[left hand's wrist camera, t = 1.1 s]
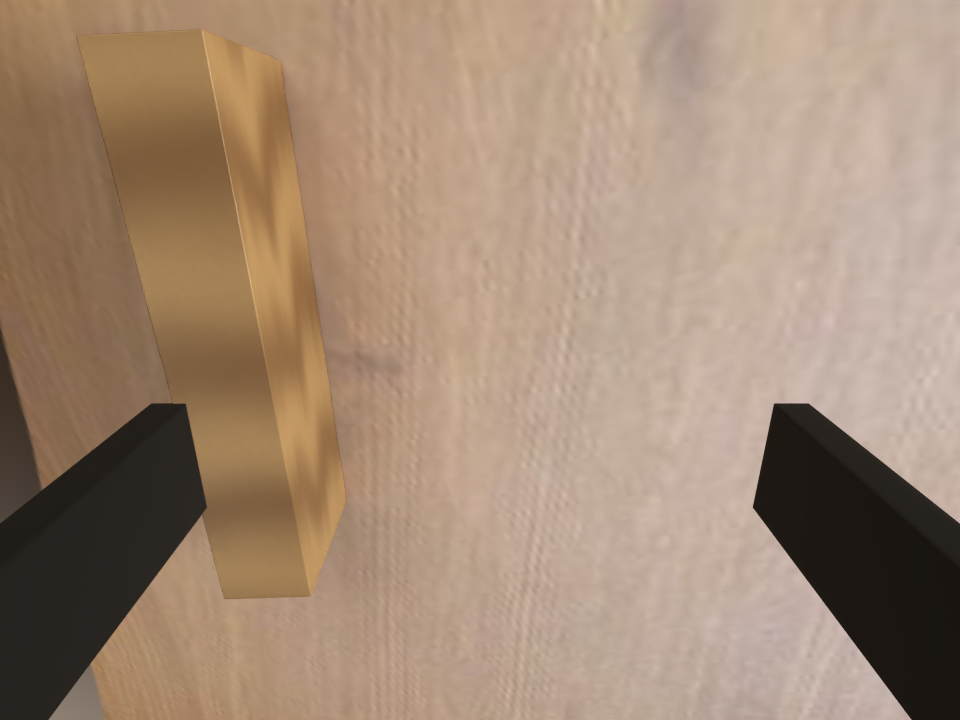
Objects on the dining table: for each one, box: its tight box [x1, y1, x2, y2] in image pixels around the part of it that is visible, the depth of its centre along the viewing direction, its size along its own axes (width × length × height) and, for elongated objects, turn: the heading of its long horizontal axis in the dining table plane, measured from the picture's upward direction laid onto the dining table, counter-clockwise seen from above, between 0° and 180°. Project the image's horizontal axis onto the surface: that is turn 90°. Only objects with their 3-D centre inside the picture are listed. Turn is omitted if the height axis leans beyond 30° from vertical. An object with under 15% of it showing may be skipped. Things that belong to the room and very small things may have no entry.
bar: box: [76, 29, 347, 599], centre depth 28 cm, size 25×4×8 cm, turn 2°
